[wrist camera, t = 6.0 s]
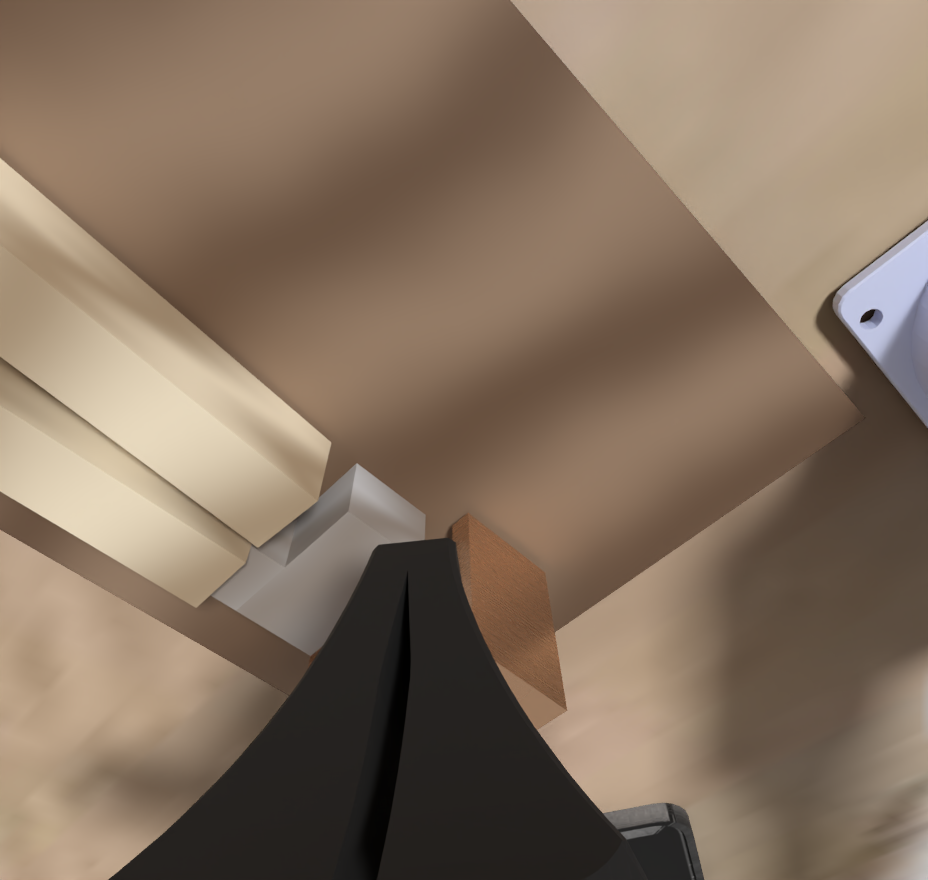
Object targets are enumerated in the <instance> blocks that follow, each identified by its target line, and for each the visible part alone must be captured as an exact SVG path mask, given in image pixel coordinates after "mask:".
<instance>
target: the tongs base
mask: <svg viewBox="0 0 928 880" xmlns="http://www.w3.org/2000/svg"><path fill="white" fill-rule="evenodd" d="M0 158H1V159H2V160H3V161H4V162H5V163H7V164H8V165H9V166H10V167H11V168H12V169H14V170H15V171H16V172H17V173H18V174H19V175H21V176H22V177H23V178H24V179H25V180H26V181H28V182H29V183H30V184H31V185H32V186H33V187H35V188H36V189H37V190H38V191H39V192H40V193H42V194H43V195H44V196H45V197H46V198H47V199H49V200H50V201H51V202H52V203H53V204H54V205H56V206H57V207H58V208H59V209H60V210H61V211H63V212H64V213H65V214H66V215H67V216H68V217H70V218H71V219H72V220H73V221H74V222H75V223H77V224H78V225H79V226H80V227H81V228H82V229H83V230H85V231H86V232H87V233H88V234H89V235H90V236H92V237H93V238H94V239H95V240H96V241H97V242H99V243H100V244H101V245H102V246H103V247H104V248H106V249H107V250H108V251H109V252H110V253H111V254H113V255H114V256H115V257H116V258H117V259H118V260H120V261H121V262H122V263H123V264H124V265H125V266H127V267H128V268H129V269H130V270H131V271H132V272H134V273H135V274H136V275H137V276H138V277H139V278H141V279H142V280H143V281H144V282H145V283H146V284H148V285H149V286H150V287H151V288H152V289H153V290H155V291H156V292H157V293H158V294H159V295H160V296H162V297H163V298H164V299H165V300H166V301H167V302H168V303H170V304H171V305H172V306H173V307H174V308H175V309H177V310H178V311H179V312H180V313H181V314H182V315H184V316H185V317H186V318H187V319H188V320H189V321H191V322H192V323H193V324H194V325H195V326H196V327H198V328H199V329H200V330H201V331H202V332H203V333H205V334H206V335H207V336H208V337H209V338H210V339H212V340H213V341H214V342H215V343H216V344H217V345H219V346H220V347H221V348H222V349H223V350H224V351H226V352H227V353H228V354H229V355H230V356H231V357H233V358H234V359H235V360H236V361H237V362H238V363H240V364H241V365H242V366H243V367H244V368H245V369H247V370H248V371H249V372H250V373H251V374H252V375H253V376H255V377H256V378H257V379H258V380H259V381H260V382H262V383H263V384H264V385H265V386H266V387H267V388H269V389H270V390H271V391H272V392H273V393H274V394H276V395H277V396H278V397H279V398H280V399H281V400H283V401H284V402H285V403H286V404H287V405H288V406H290V407H291V408H292V409H293V410H294V411H295V412H297V413H298V414H299V415H300V416H301V417H302V418H304V419H305V420H306V421H307V422H308V423H309V424H311V425H312V426H313V427H314V428H315V429H316V430H318V431H319V432H320V433H321V434H322V435H323V436H325V437H326V438H327V439H328V440H329V441H330V442H331V447H330V451H329V455H328V460H327V464H326V468H325V473H324V477H323V481H322V486H321V490H320V494H319V499H318V501H317V502H316V503H315V504H314V505H312V506H311V507H310V508H308V509H307V510H306V511H305V512H303V513H302V514H301V515H299V516H298V517H297V518H296V519H294V520H293V521H292V522H290V523H289V524H288V525H287V526H285V527H284V528H283V529H282V530H280V531H279V532H278V533H276V534H275V535H274V536H273V537H271V538H270V539H269V540H267V541H266V542H265V543H264V544H262V545H261V546H260V547H256V546H255V545H253V544H252V543H251V542H249V541H248V540H247V539H245V538H244V537H243V536H241V535H240V534H239V533H237V532H236V531H235V530H233V529H232V528H231V527H229V526H228V525H227V524H225V523H224V522H222V521H221V520H220V519H218V518H217V517H216V516H214V515H213V514H212V513H210V512H209V511H208V510H206V509H205V508H204V507H202V506H201V505H200V504H198V503H197V502H196V501H194V500H193V499H191V498H190V497H189V496H187V495H186V494H185V493H183V492H182V491H181V490H179V489H178V488H177V487H175V486H174V485H173V484H171V483H170V482H169V481H167V480H166V479H165V478H163V477H162V476H160V475H159V474H158V473H156V472H155V471H154V470H152V469H151V468H150V467H148V466H147V465H146V464H144V463H143V462H142V461H140V460H139V459H138V458H136V457H135V456H134V455H132V454H131V453H129V452H128V451H127V450H125V449H124V448H123V447H121V446H120V445H119V444H117V443H116V442H115V441H113V440H112V439H111V438H109V437H108V436H107V435H105V434H104V433H103V432H101V431H100V430H98V429H97V428H96V427H94V426H93V425H92V424H90V423H89V422H88V421H86V420H85V419H84V418H82V417H81V416H80V415H78V414H77V413H76V412H74V411H73V410H71V409H70V408H69V407H67V406H66V405H65V404H63V403H62V402H61V401H59V400H58V399H57V398H55V397H54V396H53V395H51V394H50V393H49V392H47V391H46V390H45V389H43V388H42V387H40V386H39V385H38V384H36V383H35V382H34V381H32V380H31V379H30V378H28V377H27V376H26V375H24V374H23V373H22V372H20V371H19V370H18V369H16V368H15V367H14V366H12V365H11V364H9V363H8V362H7V361H5V360H4V359H3V358H1V357H0V530H2V531H4V532H5V533H7V534H9V535H11V536H12V537H14V538H16V539H18V540H19V541H21V542H23V543H25V544H26V545H28V546H30V547H32V548H33V549H35V550H37V551H38V552H40V553H42V554H44V555H45V556H47V557H49V558H51V559H52V560H54V561H56V562H58V563H59V564H61V565H63V566H65V567H66V568H68V569H70V570H72V571H73V572H75V573H77V574H79V575H80V576H82V577H84V578H86V579H87V580H89V581H91V582H92V583H94V584H96V585H98V586H99V587H101V588H103V589H105V590H106V591H108V592H110V593H112V594H113V595H115V596H117V597H119V598H120V599H122V600H124V601H126V602H127V603H129V604H131V605H133V606H134V607H136V608H138V609H139V610H141V611H143V612H145V613H146V614H148V615H150V616H152V617H153V618H155V619H157V620H159V621H160V622H162V623H164V624H166V625H167V626H169V627H171V628H173V629H174V630H176V631H178V632H180V633H181V634H183V635H185V636H186V637H188V638H190V639H192V640H193V641H195V642H197V643H199V644H200V645H202V646H204V647H206V648H207V649H209V650H211V651H213V652H214V653H216V654H218V655H220V656H221V657H223V658H225V659H227V660H228V661H230V662H232V663H234V664H235V665H237V666H239V667H240V668H242V669H244V670H246V671H247V672H249V673H251V674H253V675H254V676H256V677H258V678H260V679H261V680H263V681H265V682H267V683H268V684H270V685H272V686H274V687H275V688H277V689H279V690H281V691H282V692H284V693H286V694H287V695H290V694H291V693H292V691H293V690H294V688H295V687H296V686H297V684H298V683H299V681H300V680H301V679H302V677H303V676H304V674H305V672H306V671H307V669H308V665H309V660H310V656H311V655H312V654H314V653H315V652H316V651H317V650H319V649H320V648H321V647H322V646H323V645H324V643H325V642H326V640H327V638H328V637H329V635H330V633H331V631H332V630H333V628H334V626H335V624H336V623H337V621H338V619H339V617H340V616H341V614H342V612H343V610H344V609H345V607H346V605H347V603H348V601H349V599H350V597H351V595H352V594H353V592H354V590H355V588H356V586H357V584H358V582H359V580H360V578H361V576H362V574H363V572H364V569H365V567H366V565H367V563H368V561H369V558H370V556H371V554H372V551H373V550H374V549H375V548H376V547H377V546H378V545H380V544H390V543H400V542H410V541H420V540H430V539H439V538H450V539H451V540H452V526H453V525H454V524H455V523H456V522H458V521H459V520H460V519H461V518H462V517H464V516H465V515H466V514H467V513H469V514H471V515H472V516H473V517H474V518H476V519H477V520H478V521H480V522H481V523H482V524H483V525H485V526H486V527H487V528H489V529H490V530H491V531H492V532H494V533H495V534H496V535H498V536H499V537H500V538H501V539H503V540H504V541H505V542H507V543H508V544H509V545H510V546H512V547H513V548H514V549H516V550H517V551H518V552H520V553H521V554H522V555H523V556H525V557H526V558H527V559H529V560H530V561H531V562H532V563H534V564H535V565H536V566H538V567H539V568H540V569H541V570H543V571H544V572H545V575H546V581H547V587H548V594H549V600H550V606H551V612H552V619H553V625H554V631H555V632H556V631H557V630H559V629H560V628H562V627H563V626H565V625H566V624H568V623H569V622H570V621H572V620H573V619H575V618H576V617H578V616H579V615H581V614H582V613H583V612H585V611H586V610H588V609H589V608H591V607H592V606H594V605H595V604H596V603H598V602H599V601H601V600H602V599H604V598H605V597H607V596H608V595H610V594H611V593H612V592H614V591H615V590H617V589H618V588H620V587H621V586H623V585H624V584H625V583H627V582H628V581H630V580H631V579H633V578H634V577H636V576H637V575H639V574H640V573H641V572H643V571H644V570H646V569H647V568H649V567H650V566H652V565H653V564H654V563H656V562H657V561H659V560H660V559H662V558H663V557H665V556H666V555H668V554H669V553H670V552H672V551H673V550H675V549H676V548H678V547H679V546H681V545H682V544H683V543H685V542H686V541H688V540H689V539H691V538H692V537H694V536H695V535H696V534H698V533H699V532H701V531H702V530H704V529H705V528H707V527H708V526H710V525H711V524H712V523H714V522H715V521H717V520H718V519H720V518H721V517H723V516H724V515H725V514H727V513H728V512H730V511H731V510H733V509H734V508H736V507H737V506H739V505H740V504H741V503H743V502H744V501H746V500H747V499H749V498H750V497H752V496H753V495H754V494H756V493H757V492H759V491H760V490H762V489H763V488H765V487H766V486H768V485H769V484H770V483H772V482H773V481H775V480H776V479H778V478H779V477H781V476H782V475H783V474H785V473H786V472H788V471H789V470H791V469H792V468H794V467H795V466H796V465H798V464H799V463H801V462H802V461H804V460H805V459H807V458H808V457H810V456H811V455H812V454H814V453H815V452H817V451H818V450H820V449H821V448H823V447H824V446H825V445H827V444H828V443H830V442H831V441H833V440H834V439H836V438H837V437H839V436H840V435H841V434H843V433H844V432H846V431H847V430H849V429H850V428H852V427H853V426H854V425H856V424H857V423H859V422H860V421H862V420H863V419H865V417H864V416H863V414H862V413H861V412H860V411H859V410H858V409H857V407H856V406H855V405H854V404H853V403H852V402H851V400H850V399H849V398H848V397H847V396H846V394H845V393H844V392H843V391H842V390H841V389H840V387H839V386H838V385H837V384H836V383H835V382H834V380H833V379H832V378H831V377H830V376H829V375H828V373H827V372H826V371H825V370H824V369H823V367H822V366H821V365H820V364H819V363H818V362H817V360H816V359H815V358H814V357H813V356H812V355H811V353H810V352H809V351H808V350H807V349H806V347H805V346H804V345H803V344H802V343H801V342H800V340H799V339H798V338H797V337H796V336H795V335H794V333H793V332H792V331H791V330H790V329H789V328H788V326H787V325H786V324H785V323H784V322H783V320H782V319H781V318H780V317H779V316H778V315H777V313H776V312H775V311H774V310H773V309H772V308H771V306H770V305H769V304H768V303H767V302H766V301H765V299H764V298H763V297H762V296H761V295H760V293H759V292H758V291H757V290H756V289H755V288H754V286H753V285H752V284H751V283H750V282H749V281H748V279H747V278H746V277H745V276H744V275H743V273H742V272H741V271H740V270H739V269H738V268H737V266H736V265H735V264H734V263H733V262H732V261H731V259H730V258H729V257H728V256H727V255H726V254H725V252H724V251H723V250H722V249H721V248H720V246H719V245H718V244H717V243H716V242H715V241H714V239H713V238H712V237H711V236H710V235H709V234H708V232H707V231H706V230H705V229H704V228H703V227H702V225H701V224H700V223H699V222H698V221H697V219H696V218H695V217H694V216H693V215H692V214H691V212H690V211H689V210H688V209H687V208H686V207H685V205H684V204H683V203H682V202H681V201H680V199H679V198H678V197H677V196H676V195H675V194H674V192H673V191H672V190H671V189H670V188H669V187H668V185H667V184H666V183H665V182H664V181H663V180H662V178H661V177H660V176H659V175H658V174H657V172H656V171H655V170H654V169H653V168H652V167H651V165H650V164H649V163H648V162H647V161H646V160H645V158H644V157H643V156H642V155H641V154H640V153H639V151H638V150H637V149H636V148H635V147H634V145H633V144H632V143H631V142H630V141H629V140H628V138H627V137H626V136H625V135H624V134H623V133H622V131H621V130H620V129H619V128H618V127H617V125H616V124H615V123H614V122H613V121H612V120H611V118H610V117H609V116H608V115H607V114H606V113H605V111H604V110H603V109H602V108H601V107H600V106H599V104H598V103H597V102H596V101H595V100H594V98H593V97H592V96H591V95H590V94H589V93H588V91H587V90H586V89H585V88H584V87H583V86H582V84H581V83H580V82H579V81H578V80H577V79H576V77H575V76H574V75H573V74H572V73H571V71H570V70H569V69H568V68H567V67H566V66H565V64H564V63H563V62H562V61H561V60H560V59H559V57H558V56H557V55H556V54H555V53H554V51H553V50H552V49H551V48H550V47H549V46H548V44H547V43H546V42H545V41H544V40H543V39H542V37H541V36H540V35H539V34H538V33H537V32H536V30H535V29H534V28H533V27H532V26H531V24H530V23H529V22H528V21H527V20H526V19H525V17H524V16H523V15H522V14H521V13H520V12H519V10H518V9H517V8H516V7H515V6H514V5H513V3H512V2H511V1H510V0H0Z"/></svg>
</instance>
